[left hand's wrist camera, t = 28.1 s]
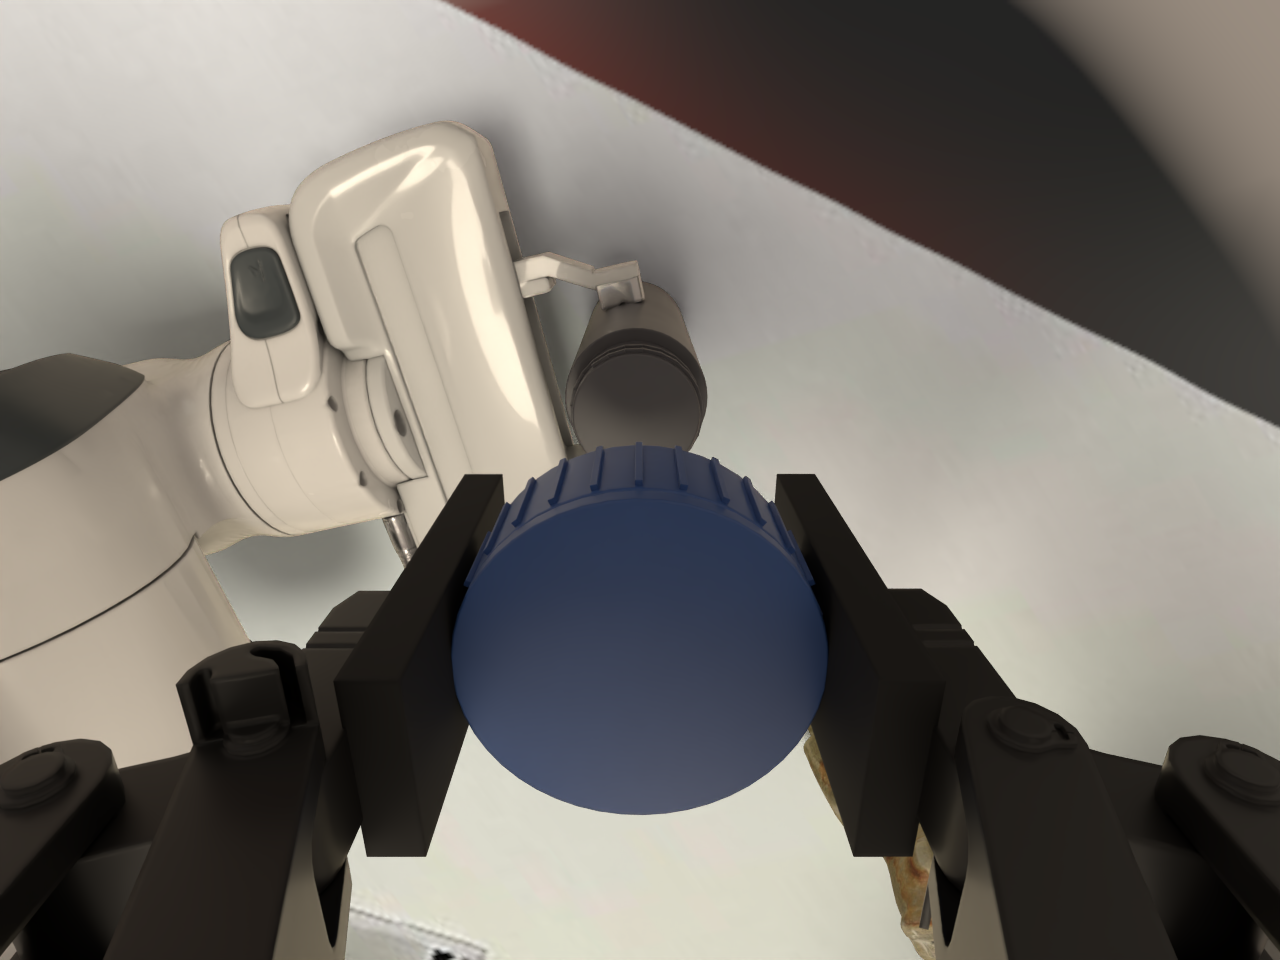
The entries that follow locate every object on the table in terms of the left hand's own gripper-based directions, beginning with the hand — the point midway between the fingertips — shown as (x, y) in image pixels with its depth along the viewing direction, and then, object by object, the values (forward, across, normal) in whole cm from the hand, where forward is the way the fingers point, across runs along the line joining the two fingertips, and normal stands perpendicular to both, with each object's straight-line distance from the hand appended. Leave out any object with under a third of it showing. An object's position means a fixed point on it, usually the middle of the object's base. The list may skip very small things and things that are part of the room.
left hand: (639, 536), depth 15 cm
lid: (-4, 0, 0) cm, 4 cm away
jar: (+23, 0, 0) cm, 23 cm away
